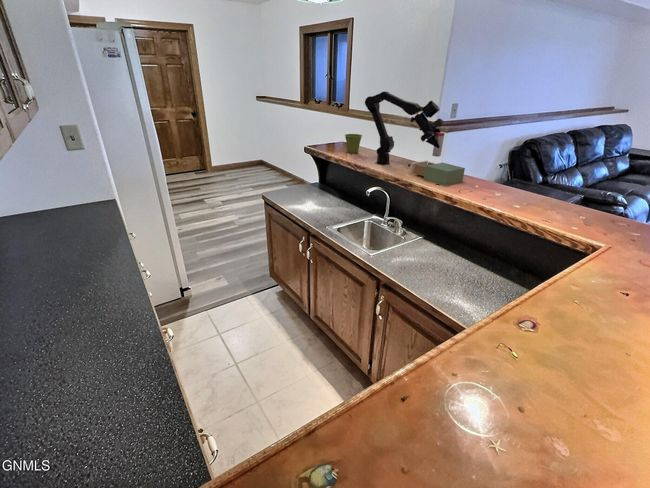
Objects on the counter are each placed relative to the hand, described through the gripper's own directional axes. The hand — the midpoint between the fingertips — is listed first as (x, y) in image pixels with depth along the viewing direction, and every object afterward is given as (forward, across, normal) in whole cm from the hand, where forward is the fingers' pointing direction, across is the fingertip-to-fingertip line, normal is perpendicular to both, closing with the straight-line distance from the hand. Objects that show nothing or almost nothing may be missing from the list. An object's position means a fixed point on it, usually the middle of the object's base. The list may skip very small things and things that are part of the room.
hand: (440, 147), depth 188 cm
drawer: (+6, -11, +12) cm, 17 cm away
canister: (+2, 0, +4) cm, 5 cm away
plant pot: (-34, +17, +54) cm, 66 cm away
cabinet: (+15, -16, +4) cm, 23 cm away
